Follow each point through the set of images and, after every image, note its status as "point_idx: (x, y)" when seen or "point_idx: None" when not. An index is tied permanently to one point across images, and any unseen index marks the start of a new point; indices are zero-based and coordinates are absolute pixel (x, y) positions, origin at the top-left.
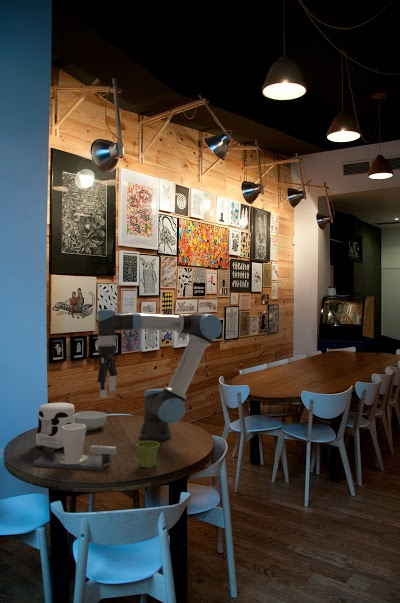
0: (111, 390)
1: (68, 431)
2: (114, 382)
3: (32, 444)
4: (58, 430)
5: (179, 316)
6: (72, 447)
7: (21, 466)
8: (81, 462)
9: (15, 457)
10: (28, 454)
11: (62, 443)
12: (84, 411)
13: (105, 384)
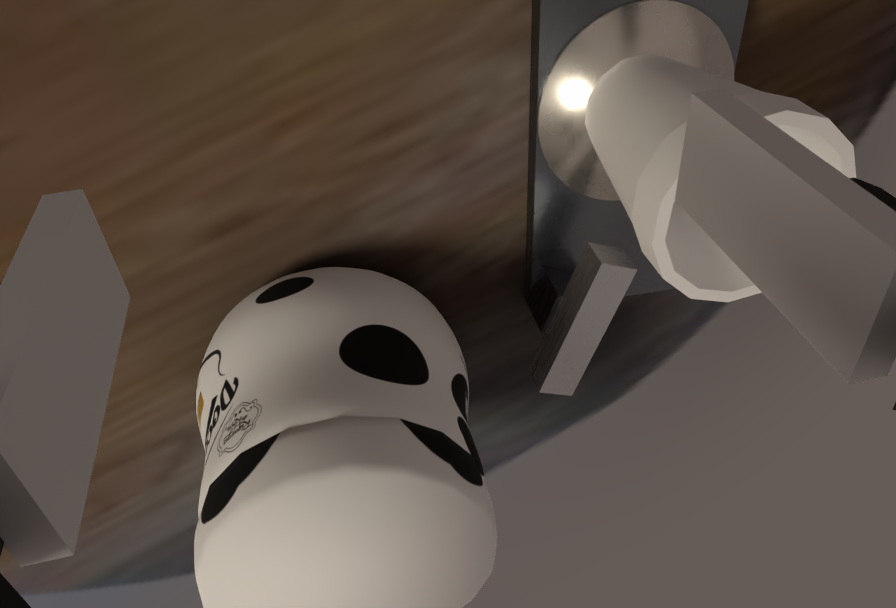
0: (112, 262)
1: None
2: (48, 314)
3: None
4: (449, 380)
5: None
6: None
7: (689, 317)
8: (709, 16)
9: (565, 408)
10: (510, 387)
11: (424, 301)
12: None
13: (892, 226)
